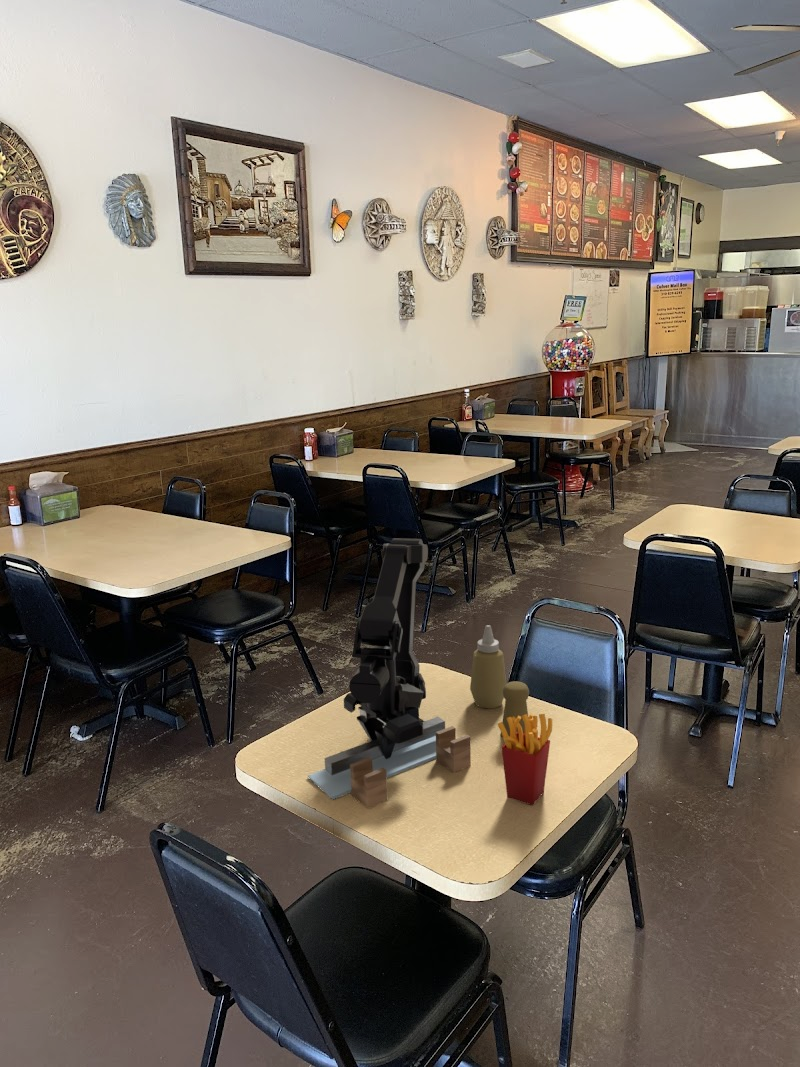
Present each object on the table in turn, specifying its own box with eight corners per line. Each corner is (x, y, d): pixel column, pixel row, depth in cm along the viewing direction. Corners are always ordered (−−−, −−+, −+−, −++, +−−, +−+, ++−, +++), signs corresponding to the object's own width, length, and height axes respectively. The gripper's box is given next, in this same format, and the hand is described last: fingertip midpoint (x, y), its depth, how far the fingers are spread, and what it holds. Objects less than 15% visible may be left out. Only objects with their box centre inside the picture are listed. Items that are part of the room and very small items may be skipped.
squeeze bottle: (510, 697, 178) (510, 621, 174) (502, 713, 171) (502, 634, 166) (475, 693, 181) (474, 618, 176) (466, 709, 173) (465, 631, 169)
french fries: (536, 809, 136) (536, 729, 132) (492, 796, 140) (491, 718, 137) (555, 784, 143) (556, 708, 140) (512, 773, 147) (513, 698, 144)
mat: (307, 778, 148) (307, 775, 148) (436, 729, 164) (436, 727, 164) (332, 799, 141) (332, 796, 141) (463, 747, 157) (463, 744, 157)
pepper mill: (529, 727, 164) (530, 677, 162) (531, 741, 158) (532, 690, 156) (500, 726, 165) (500, 677, 162) (501, 741, 159) (501, 690, 156)
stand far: (436, 760, 152) (435, 732, 151) (452, 754, 155) (452, 726, 153) (454, 772, 148) (453, 743, 147) (470, 765, 150) (470, 736, 149)
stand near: (351, 795, 142) (350, 764, 141) (370, 787, 144) (369, 757, 143) (368, 808, 138) (366, 777, 136) (387, 800, 140) (386, 770, 138)
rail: (331, 775, 144) (331, 763, 143) (325, 770, 146) (324, 758, 145) (445, 732, 158) (445, 721, 158) (437, 727, 160) (437, 716, 160)
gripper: (446, 684, 145) (447, 761, 149) (388, 653, 160) (390, 724, 164) (395, 701, 139) (398, 781, 143) (340, 667, 154) (344, 741, 157)
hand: (383, 755), depth 152 cm, fingers closed on rail, 2 cm apart
